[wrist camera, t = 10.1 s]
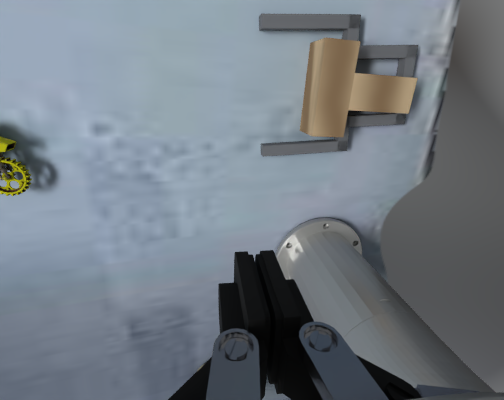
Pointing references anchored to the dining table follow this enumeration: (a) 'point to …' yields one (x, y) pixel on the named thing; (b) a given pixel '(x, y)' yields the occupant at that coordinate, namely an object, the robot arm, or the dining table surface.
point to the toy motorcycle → (5, 145)
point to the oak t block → (346, 89)
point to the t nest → (351, 32)
